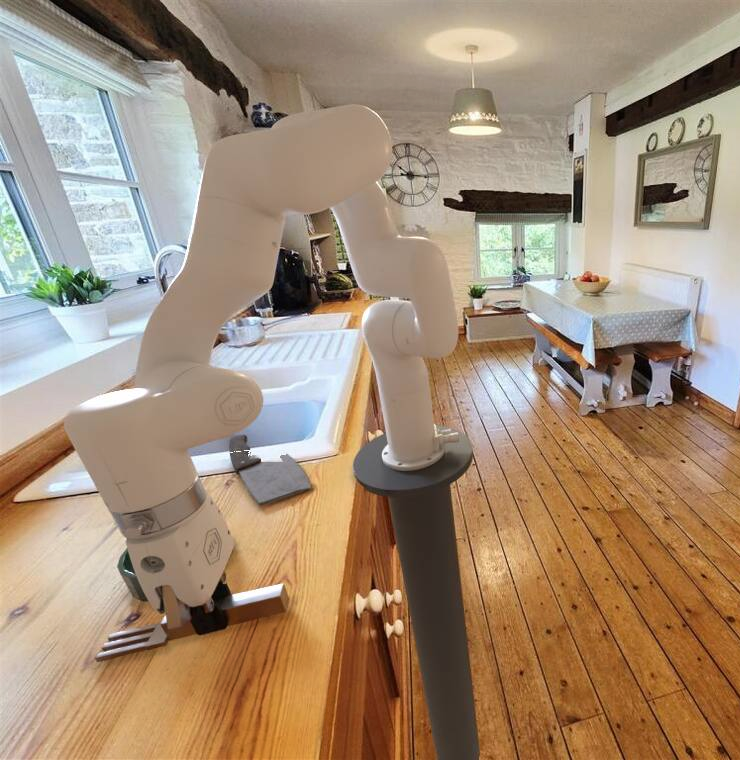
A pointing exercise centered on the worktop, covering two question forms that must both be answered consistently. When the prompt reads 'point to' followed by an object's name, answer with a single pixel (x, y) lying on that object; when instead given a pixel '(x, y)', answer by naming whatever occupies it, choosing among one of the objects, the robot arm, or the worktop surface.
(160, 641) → the fork
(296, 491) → the cleaver
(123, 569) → the bowl
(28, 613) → the worktop surface
